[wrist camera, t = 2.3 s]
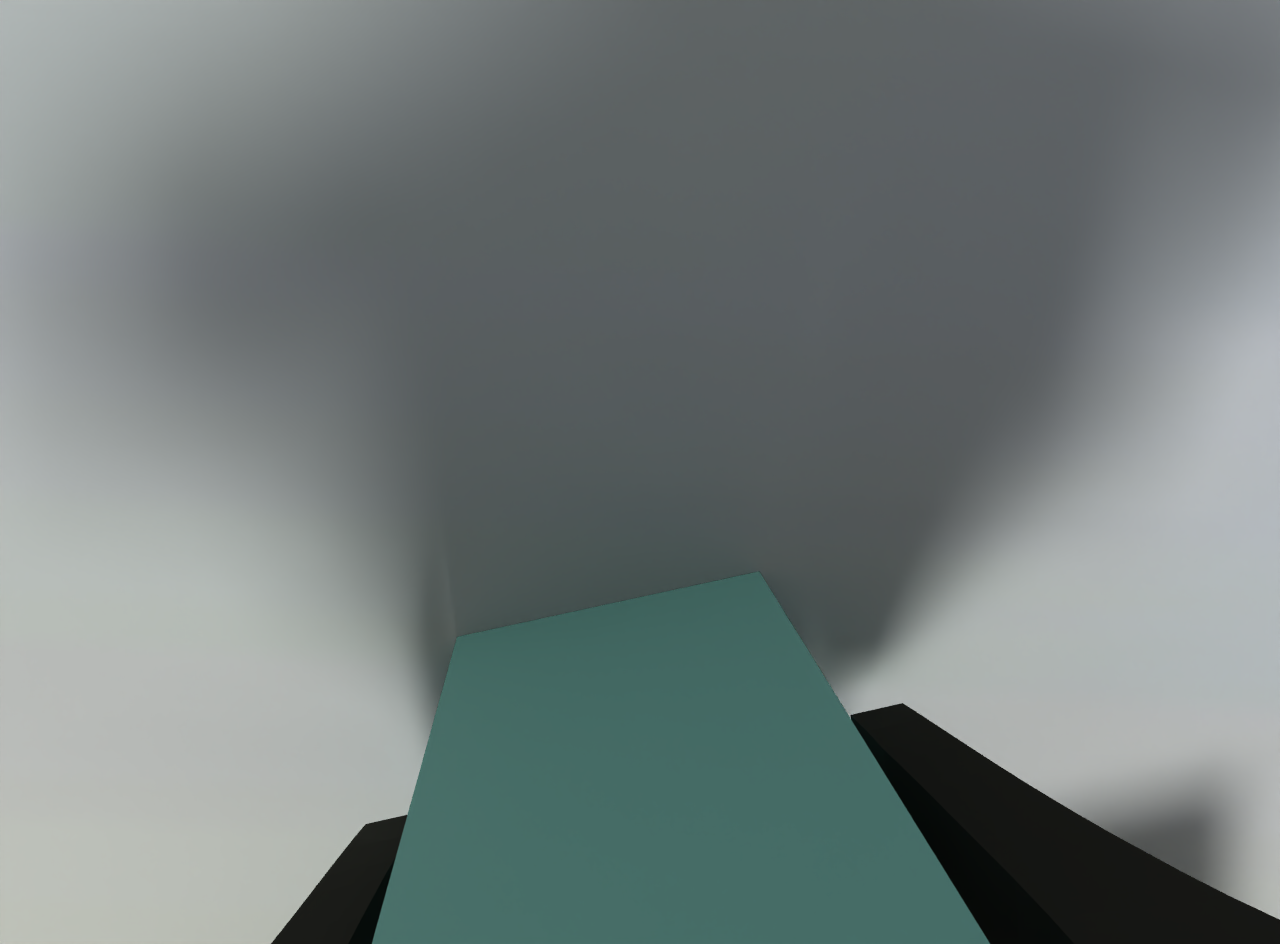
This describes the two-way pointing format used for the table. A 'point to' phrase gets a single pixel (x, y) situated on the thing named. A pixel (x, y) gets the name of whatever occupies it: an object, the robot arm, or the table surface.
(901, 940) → the teal peg
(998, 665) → the table surface
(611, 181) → the table surface
